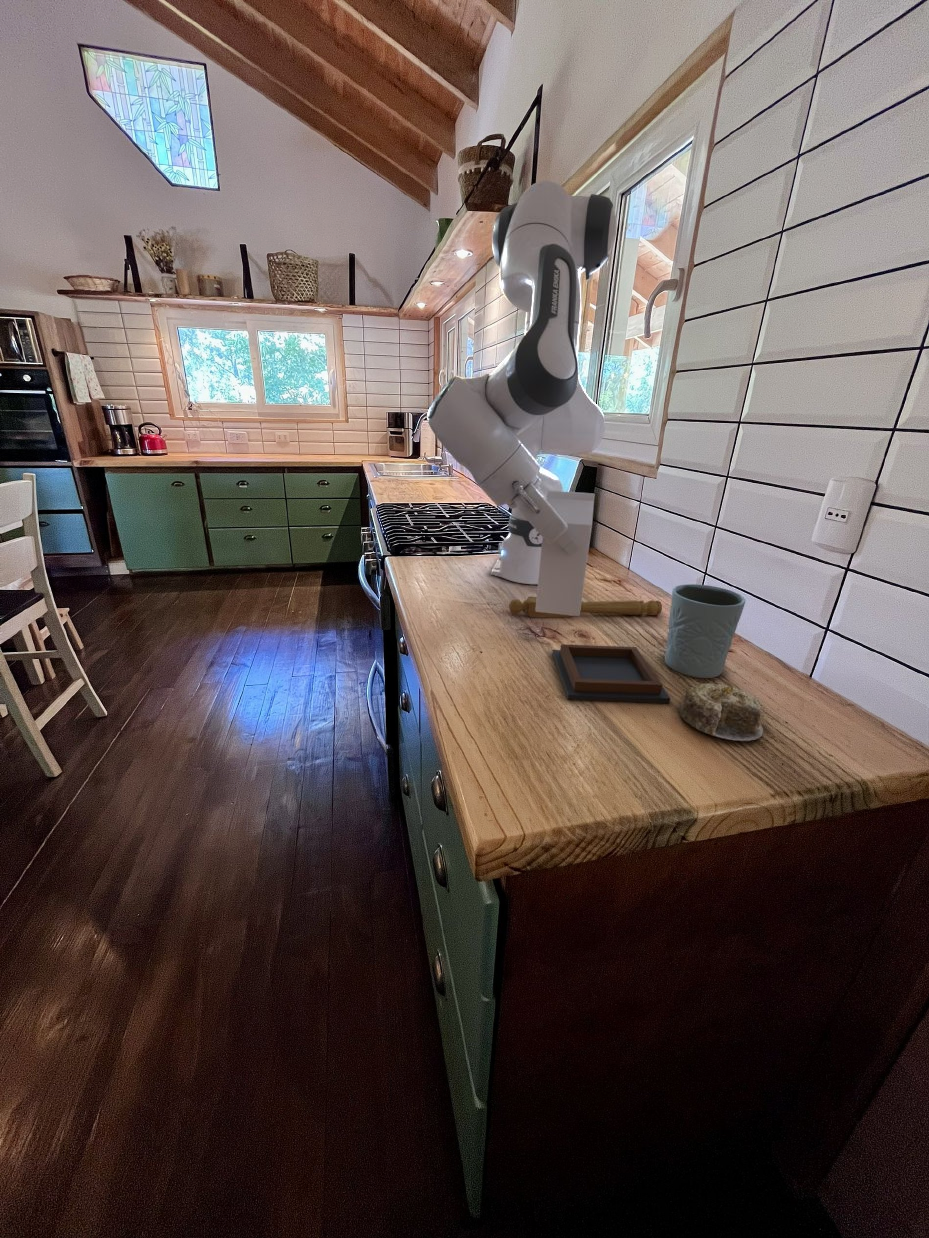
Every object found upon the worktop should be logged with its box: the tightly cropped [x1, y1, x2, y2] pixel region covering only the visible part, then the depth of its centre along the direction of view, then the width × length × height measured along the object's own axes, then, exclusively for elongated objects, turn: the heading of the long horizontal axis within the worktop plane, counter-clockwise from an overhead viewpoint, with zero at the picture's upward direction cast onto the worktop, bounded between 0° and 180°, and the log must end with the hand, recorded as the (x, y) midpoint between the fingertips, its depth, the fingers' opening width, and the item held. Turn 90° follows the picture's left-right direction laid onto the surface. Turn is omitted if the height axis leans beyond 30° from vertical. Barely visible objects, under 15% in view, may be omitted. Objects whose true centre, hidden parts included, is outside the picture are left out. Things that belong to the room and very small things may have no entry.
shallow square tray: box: [552, 643, 671, 704], centre depth 74 cm, size 14×14×2 cm
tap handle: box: [508, 596, 663, 618], centre depth 97 cm, size 3×3×30 cm
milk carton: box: [535, 491, 596, 617], centre depth 80 cm, size 7×7×19 cm
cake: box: [678, 683, 764, 742], centre depth 64 cm, size 10×10×5 cm
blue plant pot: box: [664, 583, 746, 679], centre depth 77 cm, size 10×10×12 cm
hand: (568, 543), depth 79 cm, fingers closed on milk carton, 7 cm apart
